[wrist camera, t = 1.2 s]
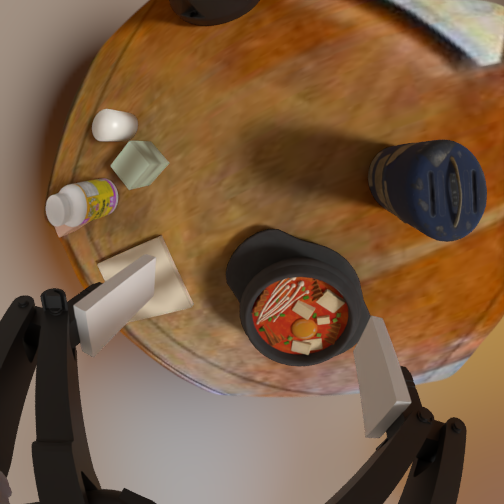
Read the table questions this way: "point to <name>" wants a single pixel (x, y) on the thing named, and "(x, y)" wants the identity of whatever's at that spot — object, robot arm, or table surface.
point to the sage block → (139, 164)
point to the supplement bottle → (82, 202)
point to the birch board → (166, 278)
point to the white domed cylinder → (114, 125)
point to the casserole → (296, 298)
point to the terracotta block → (66, 229)
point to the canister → (430, 187)
